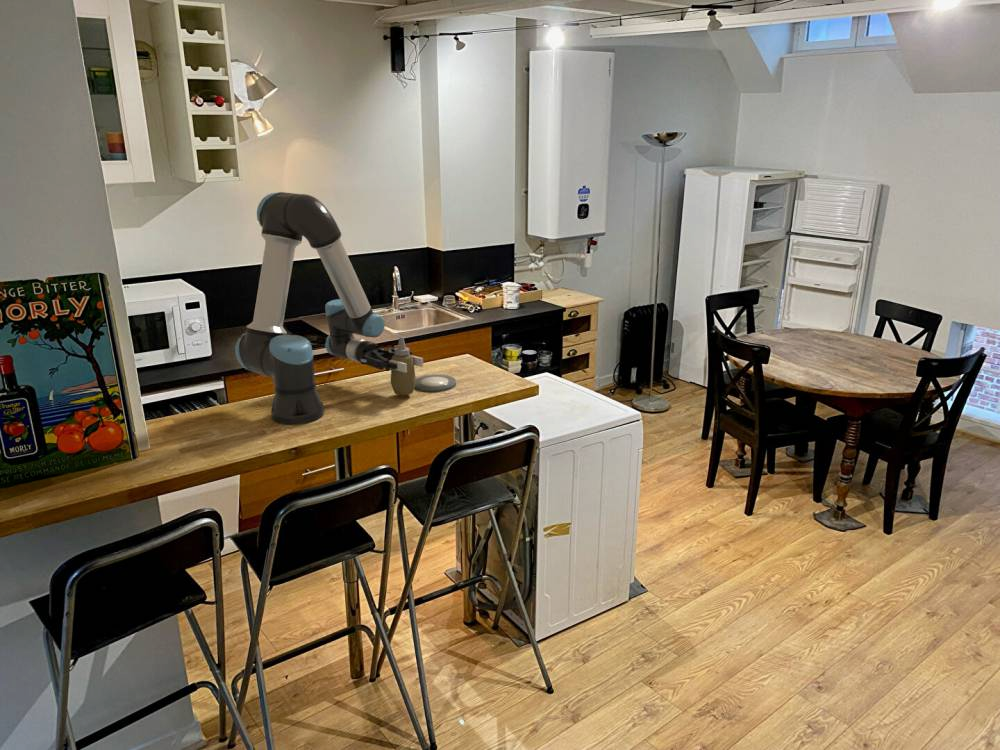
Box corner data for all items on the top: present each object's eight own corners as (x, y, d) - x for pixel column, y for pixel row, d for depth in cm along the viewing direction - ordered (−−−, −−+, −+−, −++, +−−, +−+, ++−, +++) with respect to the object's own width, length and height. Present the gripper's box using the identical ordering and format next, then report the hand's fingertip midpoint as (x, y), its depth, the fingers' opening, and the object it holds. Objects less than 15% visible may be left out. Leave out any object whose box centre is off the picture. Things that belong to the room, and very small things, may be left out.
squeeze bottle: (418, 388, 242) (416, 334, 236) (414, 397, 234) (412, 341, 228) (393, 388, 242) (390, 333, 236) (388, 396, 234) (386, 341, 229)
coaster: (405, 388, 245) (405, 385, 245) (426, 375, 257) (426, 372, 257) (444, 394, 240) (443, 390, 239) (463, 380, 252) (463, 377, 251)
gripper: (385, 355, 254) (436, 369, 240) (340, 370, 240) (391, 385, 226) (384, 334, 251) (435, 346, 238) (339, 347, 237) (390, 361, 224)
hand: (414, 365), depth 232 cm, fingers closed on squeeze bottle, 6 cm apart
